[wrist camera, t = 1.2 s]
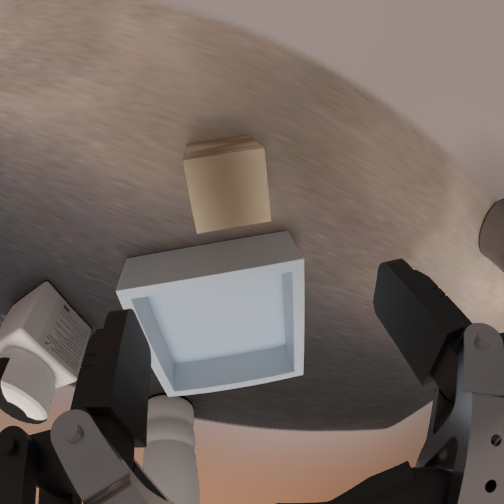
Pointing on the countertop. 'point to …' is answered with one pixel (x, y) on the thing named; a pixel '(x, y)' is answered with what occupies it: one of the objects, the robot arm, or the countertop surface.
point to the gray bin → (220, 312)
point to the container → (39, 353)
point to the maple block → (227, 183)
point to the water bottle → (172, 449)
